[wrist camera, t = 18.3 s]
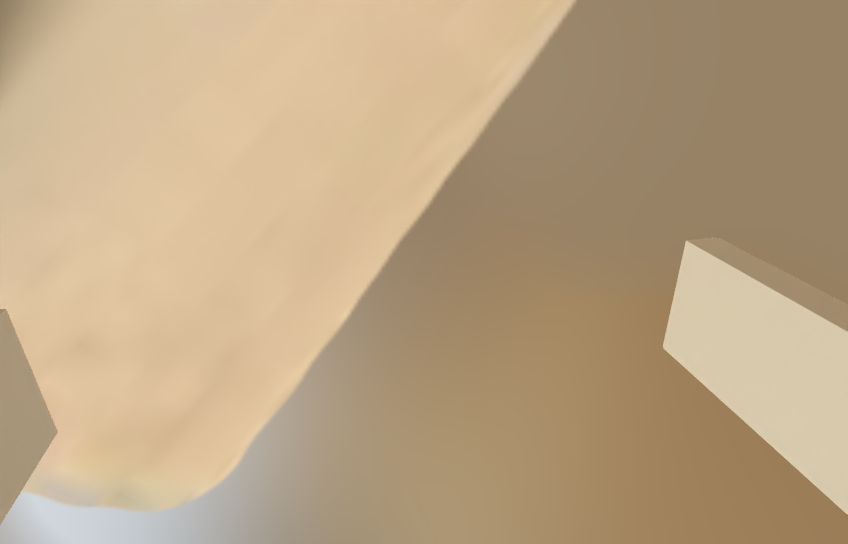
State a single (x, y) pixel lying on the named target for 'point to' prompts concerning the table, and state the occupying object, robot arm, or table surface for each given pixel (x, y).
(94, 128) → the table surface
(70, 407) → the table surface
